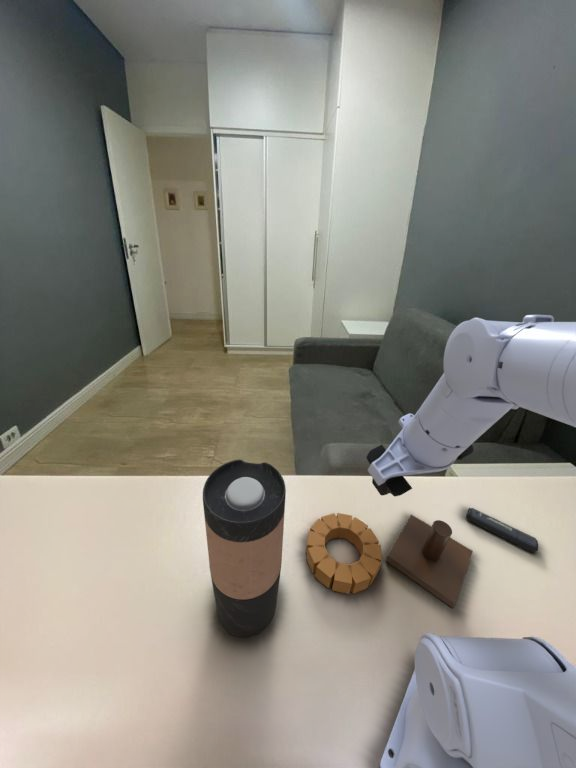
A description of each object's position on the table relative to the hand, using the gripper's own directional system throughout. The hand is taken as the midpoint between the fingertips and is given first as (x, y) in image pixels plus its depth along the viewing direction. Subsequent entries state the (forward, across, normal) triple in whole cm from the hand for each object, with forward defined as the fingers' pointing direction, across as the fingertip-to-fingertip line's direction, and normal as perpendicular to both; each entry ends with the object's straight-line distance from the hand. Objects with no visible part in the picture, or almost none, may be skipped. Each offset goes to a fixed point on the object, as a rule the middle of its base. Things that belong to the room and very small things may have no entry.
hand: (401, 475), depth 41 cm
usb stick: (+12, -14, +12) cm, 22 cm away
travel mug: (+7, +24, +3) cm, 25 cm away
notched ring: (+10, +10, +4) cm, 14 cm away
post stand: (+10, -1, +10) cm, 14 cm away
